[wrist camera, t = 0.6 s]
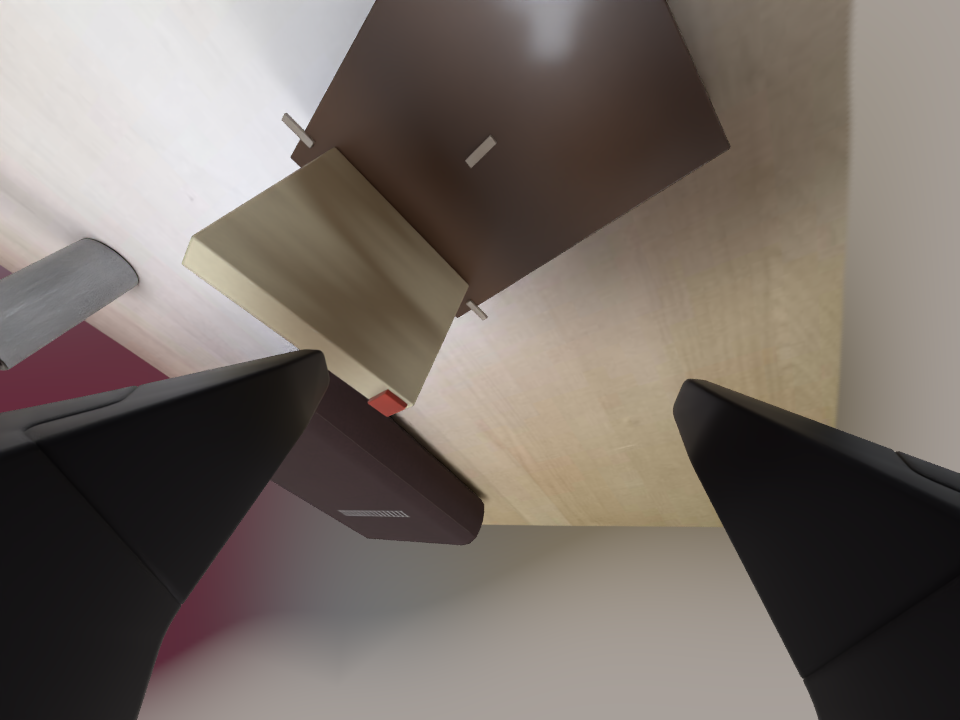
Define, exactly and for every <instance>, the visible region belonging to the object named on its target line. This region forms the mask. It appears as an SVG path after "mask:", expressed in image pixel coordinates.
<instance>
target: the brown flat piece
mask: <svg viewBox="0 0 960 720" xmlns="http://www.w3.org/2000/svg"><path fill="white" fill-rule="evenodd" d="M282 121H283V122H284V123H285V124H286V125H287V126H288V127H289V128H290V129H291V130H292V131H293V132H294V133H295V134H296V135H297V136H298V137H299V138H300V141H299V143H298V144H297V146H296V148H295V150H294V152H293V154H292V155H291V159H292V160H293V161H295V162H296V163H297V164H298V165H299V166H300V167H303V166H305V165H306V164H308V163H309V162H311V161H313V160H314V159H316V158H317V157H319V156H321V155H322V154H324V153H325V152H327V151H329V150H330V149H332V148H334V147H335V148H336V149H337V150H338V151H339V152H340V153H341V154H342V155H343V156H344V157H345V158H346V159H347V160H348V161H349V162H350V163H351V164H352V165H353V166H354V167H355V168H356V169H357V170H358V171H359V172H360V173H361V174H362V175H363V176H364V177H365V178H366V180H367V181H368V182H369V183H370V184H371V185H372V186H373V187H374V188H375V189H376V190H377V191H378V192H379V193H380V194H381V195H382V196H383V197H384V198H385V199H386V200H387V201H388V202H389V203H390V204H391V205H392V206H393V207H394V208H395V209H396V211H397V212H398V213H399V214H400V215H401V216H402V217H403V218H404V219H405V220H406V221H407V222H408V223H409V224H410V225H411V226H412V227H413V228H414V229H415V230H416V231H417V232H418V233H419V234H420V235H421V236H422V237H423V238H424V239H425V240H426V242H427V243H428V244H429V245H430V246H431V247H432V248H433V249H434V250H435V251H436V252H437V253H438V254H439V255H440V256H441V257H442V258H443V259H444V260H445V261H446V262H447V263H448V264H449V265H450V266H451V267H452V268H453V269H454V270H455V271H456V273H457V274H458V275H459V276H460V277H461V278H462V279H463V280H464V281H465V282H466V283H467V284H468V285H469V287H468V289H467V291H466V293H465V295H464V298H463V300H462V302H461V304H460V306H459V308H458V311H457V313H456V315H455V316H456V317H457V318H458V317H460V316H462V315H463V314H465V313H466V312H468V311H470V310H471V309H472V310H473V311H474V312H475V313H476V314H477V315H478V316H479V317H480V318H481V319H482V320H485V319H486V318H487V317H488V316H487V315H486V314H485V313H484V312H483V311H482V310H481V309H480V308H479V307H478V305H479V304H481V303H483V302H484V301H486V300H487V299H489V298H491V297H492V296H494V295H495V294H497V293H499V292H500V291H502V290H503V289H505V288H507V287H508V286H510V285H512V284H513V283H515V282H516V281H518V280H520V279H521V278H523V277H524V276H526V275H528V274H529V273H531V272H532V271H534V270H536V269H537V268H539V267H540V266H542V265H544V264H545V263H547V262H548V261H550V260H552V259H553V258H555V257H557V256H558V255H560V254H561V253H563V252H565V251H566V250H568V249H569V248H571V247H573V246H574V245H576V244H577V243H579V242H581V241H582V240H584V239H585V238H587V237H589V236H590V235H592V234H594V233H595V232H597V231H598V230H600V229H602V228H603V227H605V226H606V225H608V224H610V223H611V222H613V221H614V220H616V219H618V218H619V217H621V216H622V215H624V214H626V213H627V212H629V211H630V210H632V209H634V208H635V207H637V206H639V205H640V204H642V203H643V202H645V201H647V200H648V199H650V198H651V197H653V196H655V195H656V194H658V193H659V192H661V191H663V190H664V189H666V188H667V187H669V186H671V185H672V184H674V183H676V182H677V181H679V180H680V179H682V178H684V177H685V176H687V175H688V174H690V173H692V172H693V171H695V170H696V169H698V168H700V167H701V166H703V165H704V164H706V163H708V162H709V161H711V160H712V159H714V158H716V157H717V156H719V155H721V154H722V153H724V152H725V151H727V150H729V149H730V144H729V142H728V140H727V137H726V135H725V133H724V131H723V128H722V126H721V124H720V122H719V119H718V117H717V115H716V113H715V110H714V108H713V106H712V103H711V101H710V99H709V97H708V94H707V92H706V90H705V88H704V85H703V83H702V81H701V79H700V76H699V74H698V72H697V70H696V67H695V65H694V63H693V60H692V58H691V56H690V54H689V51H688V49H687V47H686V45H685V42H684V40H683V38H682V36H681V33H680V31H679V29H678V26H677V24H676V22H675V20H674V17H673V15H672V13H671V11H670V8H669V6H668V4H667V2H666V0H376V1H375V3H374V5H373V7H372V9H371V10H370V12H369V14H368V16H367V18H366V20H365V21H364V23H363V25H362V27H361V29H360V31H359V32H358V34H357V36H356V38H355V40H354V42H353V43H352V45H351V47H350V49H349V51H348V53H347V54H346V56H345V58H344V60H343V62H342V64H341V65H340V67H339V69H338V71H337V73H336V75H335V76H334V78H333V80H332V82H331V84H330V86H329V87H328V89H327V91H326V93H325V95H324V97H323V98H322V100H321V102H320V104H319V106H318V108H317V109H316V111H315V113H314V115H313V117H312V119H311V120H310V122H309V124H308V126H307V128H306V130H305V131H304V130H303V129H302V128H301V127H300V126H299V125H298V124H297V123H296V122H295V121H294V120H293V119H292V118H291V117H290V116H289V115H288V114H287V113H285V114H284V116H283V118H282Z"/></svg>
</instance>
